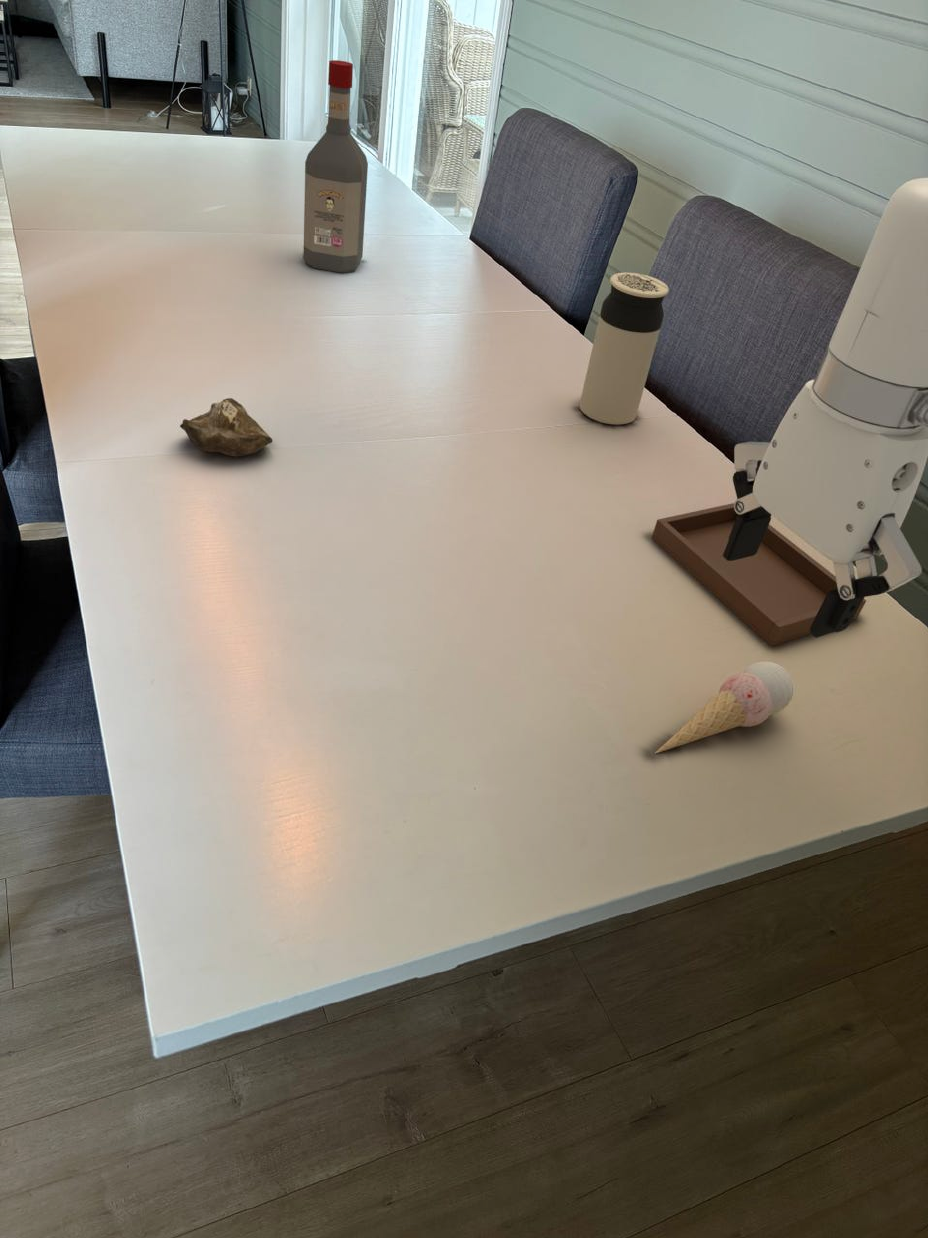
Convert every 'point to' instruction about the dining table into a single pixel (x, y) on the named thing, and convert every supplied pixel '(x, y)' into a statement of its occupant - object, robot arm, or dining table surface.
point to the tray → (750, 573)
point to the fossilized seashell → (226, 430)
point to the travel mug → (623, 348)
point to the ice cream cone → (739, 703)
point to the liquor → (335, 185)
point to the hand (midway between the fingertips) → (780, 592)
